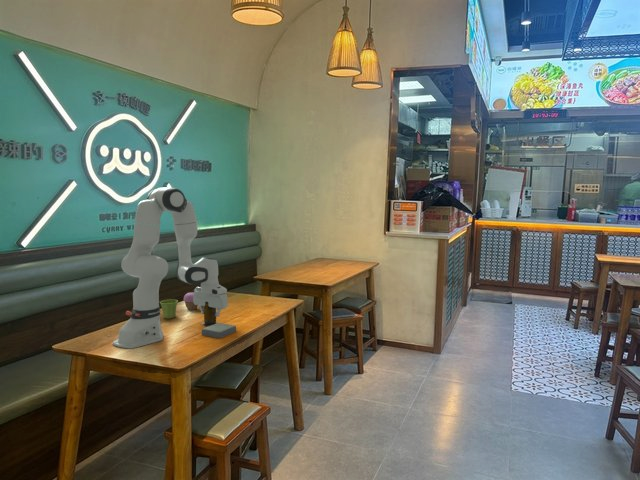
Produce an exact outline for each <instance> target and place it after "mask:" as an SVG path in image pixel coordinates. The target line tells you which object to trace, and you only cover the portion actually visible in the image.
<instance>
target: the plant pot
mask: <svg viewBox="0 0 640 480" xmlns="http://www.w3.org/2000/svg"><path fill="white" fill-rule="evenodd" d="M178 302H179V300H178V299H164V300H161V301H159V305H160V307H161V311H162V316H163V318H164V319H172V318H174V319H175V318H176V316H177V306H178Z"/></svg>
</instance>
